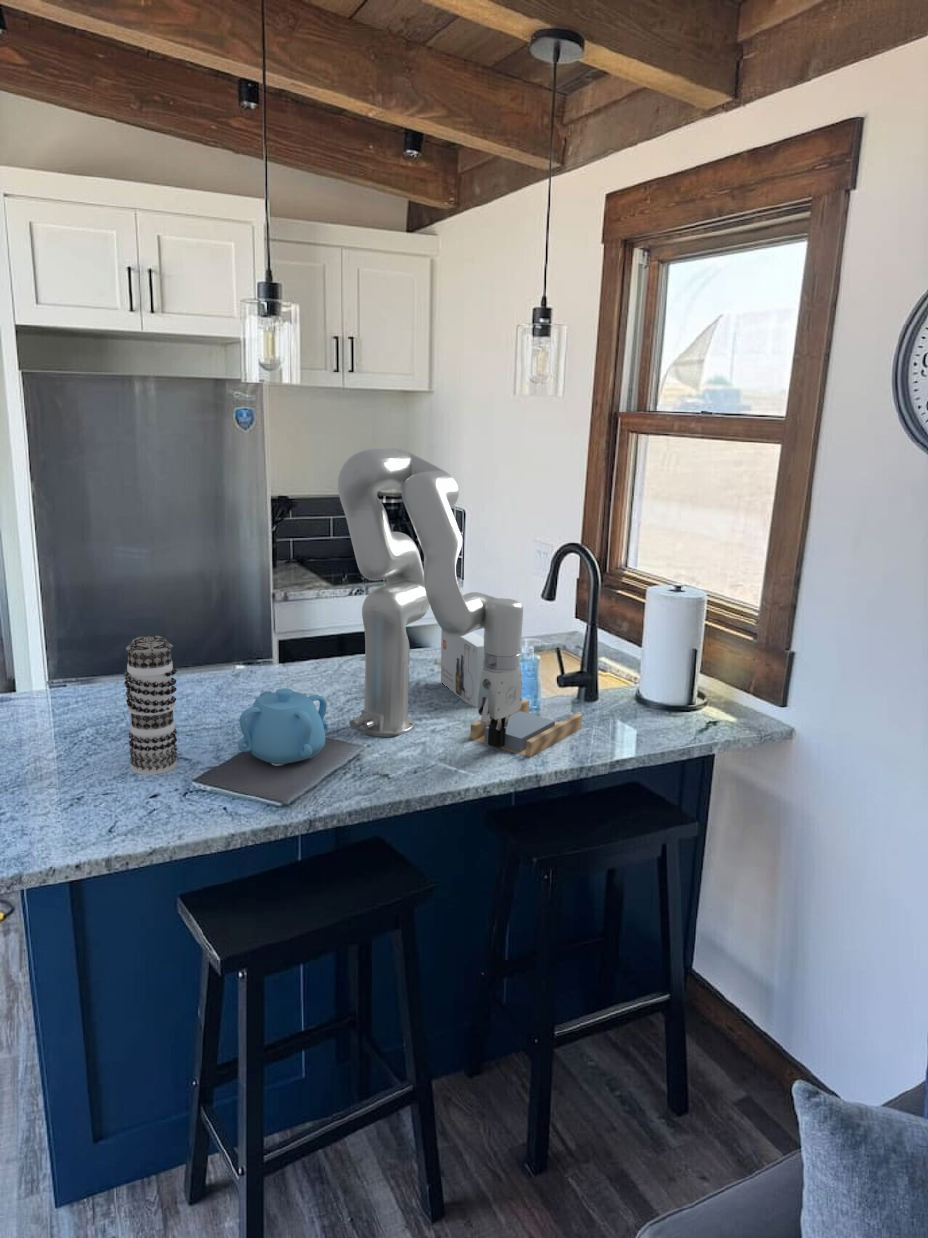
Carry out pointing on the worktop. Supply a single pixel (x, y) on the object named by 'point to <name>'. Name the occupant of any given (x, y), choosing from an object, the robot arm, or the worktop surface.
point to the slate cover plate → (523, 729)
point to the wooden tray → (538, 741)
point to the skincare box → (462, 665)
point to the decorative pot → (283, 727)
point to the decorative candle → (151, 705)
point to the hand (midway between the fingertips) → (496, 745)
